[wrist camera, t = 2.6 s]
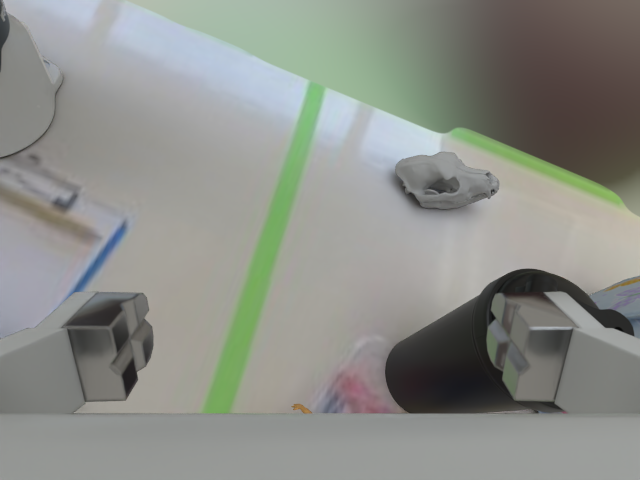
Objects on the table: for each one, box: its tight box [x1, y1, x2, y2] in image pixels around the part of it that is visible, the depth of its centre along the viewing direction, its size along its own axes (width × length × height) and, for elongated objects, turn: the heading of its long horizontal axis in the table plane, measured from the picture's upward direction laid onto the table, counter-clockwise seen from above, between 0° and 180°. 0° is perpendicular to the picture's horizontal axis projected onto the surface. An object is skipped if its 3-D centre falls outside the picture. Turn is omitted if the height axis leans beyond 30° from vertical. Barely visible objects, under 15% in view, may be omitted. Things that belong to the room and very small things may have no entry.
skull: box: [395, 152, 499, 209], centre depth 57 cm, size 8×9×12 cm
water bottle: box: [385, 269, 634, 413], centre depth 38 cm, size 10×10×23 cm
